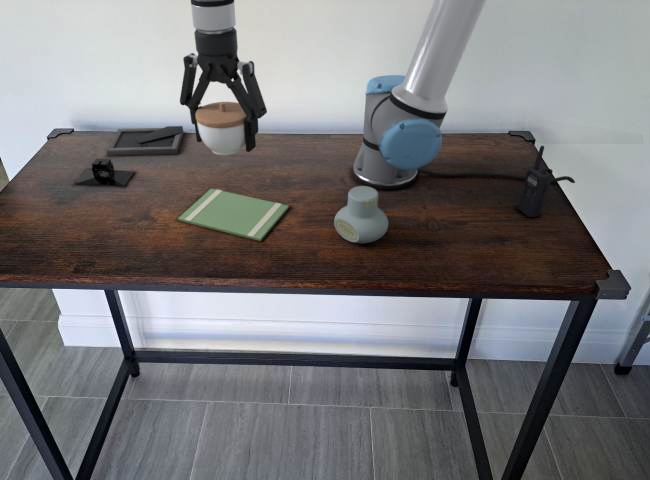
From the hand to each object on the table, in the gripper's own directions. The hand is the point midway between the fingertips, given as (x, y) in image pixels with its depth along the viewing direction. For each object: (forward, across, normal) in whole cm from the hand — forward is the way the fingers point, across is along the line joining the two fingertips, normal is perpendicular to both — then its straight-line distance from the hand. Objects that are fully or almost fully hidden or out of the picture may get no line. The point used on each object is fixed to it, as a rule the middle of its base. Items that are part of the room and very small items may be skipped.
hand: (226, 144), depth 113 cm
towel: (+16, -1, +1) cm, 16 cm away
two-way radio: (+16, -60, -26) cm, 67 cm away
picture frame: (+16, +38, -21) cm, 47 cm away
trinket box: (+1, 0, 0) cm, 1 cm away
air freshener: (+16, -29, -2) cm, 33 cm away
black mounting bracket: (+16, +36, -1) cm, 40 cm away
